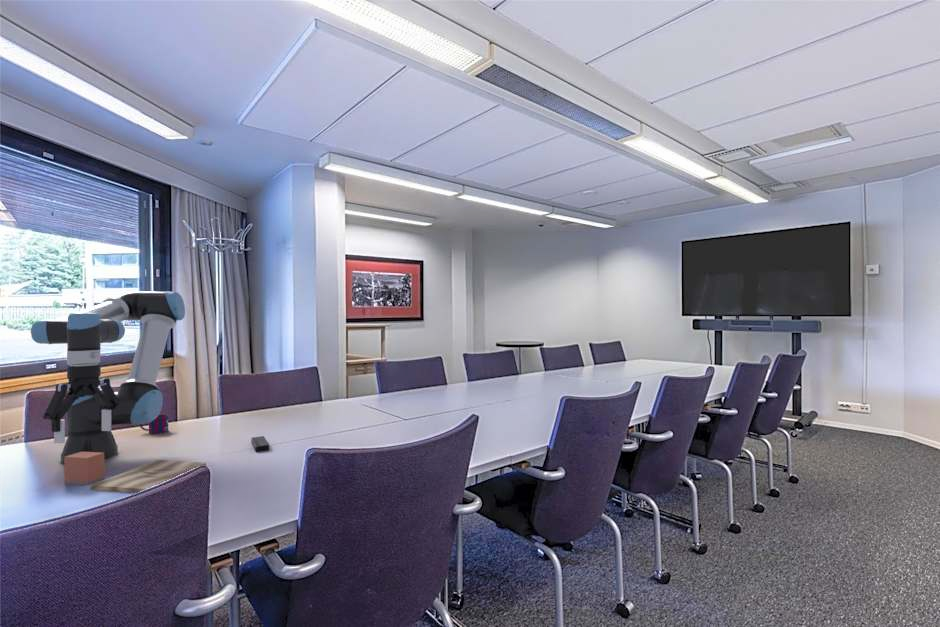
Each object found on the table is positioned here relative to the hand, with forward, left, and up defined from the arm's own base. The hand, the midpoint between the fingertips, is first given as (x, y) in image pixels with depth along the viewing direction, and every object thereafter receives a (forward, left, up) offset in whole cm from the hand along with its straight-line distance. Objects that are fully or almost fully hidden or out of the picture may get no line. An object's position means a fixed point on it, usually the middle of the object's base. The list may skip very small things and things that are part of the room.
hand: (84, 436), depth 132 cm
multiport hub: (+30, +40, -14) cm, 52 cm away
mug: (-27, +51, -14) cm, 59 cm away
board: (+17, +6, -13) cm, 22 cm away
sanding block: (0, 0, -13) cm, 13 cm away
